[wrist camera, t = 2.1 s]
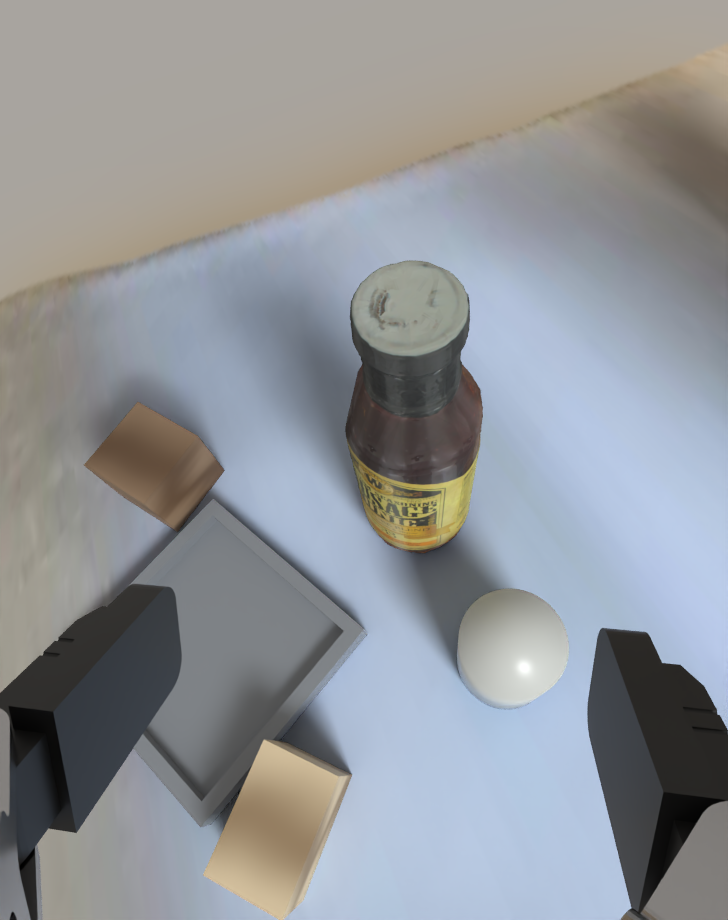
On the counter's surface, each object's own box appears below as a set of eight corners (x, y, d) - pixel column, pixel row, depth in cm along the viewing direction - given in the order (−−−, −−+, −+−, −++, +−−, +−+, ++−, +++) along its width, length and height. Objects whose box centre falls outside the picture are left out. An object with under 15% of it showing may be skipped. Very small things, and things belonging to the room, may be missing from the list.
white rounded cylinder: (492, 596, 36) (499, 567, 30) (568, 654, 34) (590, 634, 28) (438, 666, 34) (436, 649, 29) (514, 730, 33) (527, 724, 27)
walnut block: (170, 438, 43) (137, 401, 39) (224, 471, 42) (197, 436, 37) (123, 496, 42) (83, 465, 37) (178, 532, 40) (143, 503, 36)
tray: (220, 507, 40) (213, 498, 39) (367, 633, 36) (364, 629, 34) (71, 662, 37) (57, 659, 36) (210, 824, 32) (200, 827, 31)
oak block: (285, 741, 34) (263, 739, 30) (352, 774, 33) (338, 776, 29) (234, 860, 32) (202, 875, 28) (303, 899, 31) (281, 920, 27)
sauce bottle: (347, 521, 39) (262, 319, 21) (407, 447, 40) (375, 203, 23) (433, 582, 36) (418, 414, 19) (493, 502, 38) (532, 277, 20)
